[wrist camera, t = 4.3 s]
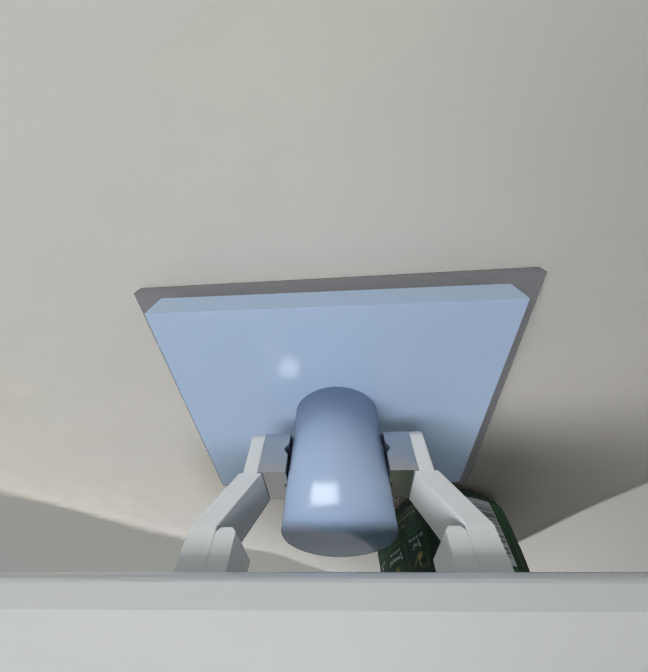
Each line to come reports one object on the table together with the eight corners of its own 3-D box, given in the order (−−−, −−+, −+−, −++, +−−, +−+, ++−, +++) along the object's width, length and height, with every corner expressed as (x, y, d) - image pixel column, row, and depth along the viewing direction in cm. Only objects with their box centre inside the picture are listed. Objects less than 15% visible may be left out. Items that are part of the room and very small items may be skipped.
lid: (161, 298, 11) (27, 420, 6) (510, 283, 10) (670, 405, 5) (229, 465, 17) (190, 591, 12) (451, 461, 16) (502, 592, 12)
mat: (141, 288, 12) (134, 293, 11) (538, 267, 11) (546, 271, 11) (225, 478, 19) (223, 485, 19) (464, 472, 19) (467, 480, 18)
